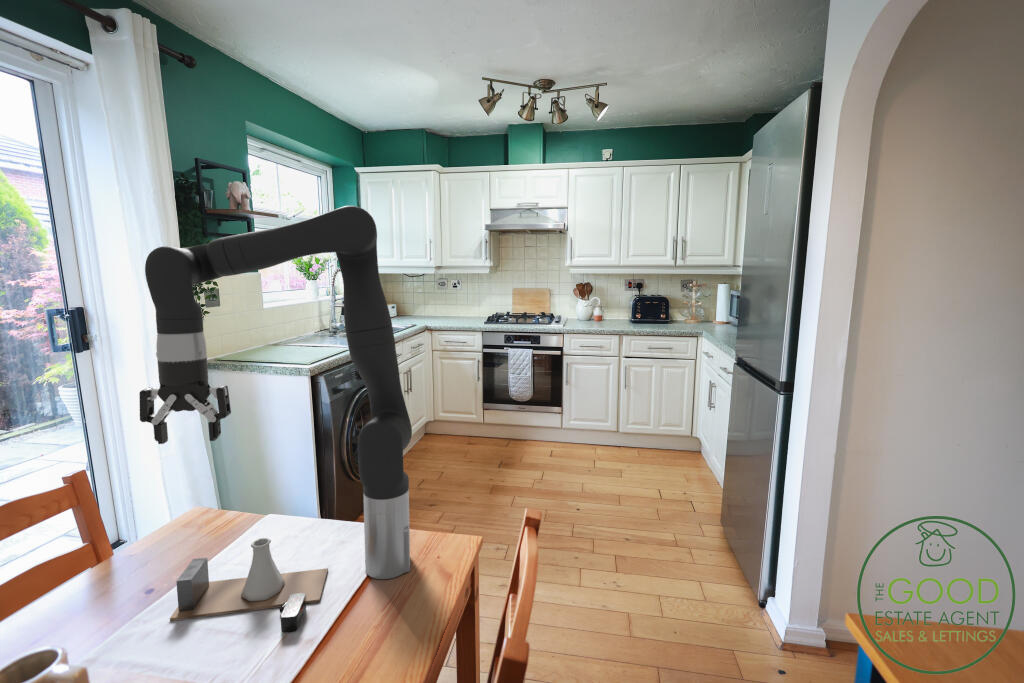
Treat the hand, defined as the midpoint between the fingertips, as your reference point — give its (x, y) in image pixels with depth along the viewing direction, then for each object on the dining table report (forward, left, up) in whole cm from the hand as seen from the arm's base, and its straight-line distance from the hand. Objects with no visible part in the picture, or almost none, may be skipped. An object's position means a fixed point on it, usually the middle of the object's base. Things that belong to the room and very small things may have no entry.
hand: (188, 441), depth 89 cm
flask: (-13, +4, -30) cm, 33 cm away
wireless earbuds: (-19, +12, -30) cm, 38 cm away
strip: (-11, +4, -30) cm, 32 cm away
